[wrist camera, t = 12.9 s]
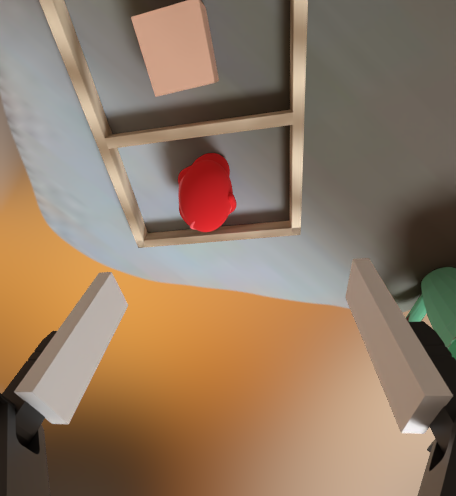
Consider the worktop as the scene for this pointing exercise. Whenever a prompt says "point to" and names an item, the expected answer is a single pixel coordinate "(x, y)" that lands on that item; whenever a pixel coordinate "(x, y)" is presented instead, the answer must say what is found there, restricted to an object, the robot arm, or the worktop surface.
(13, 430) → the robot arm
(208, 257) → the worktop surface
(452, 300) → the mug
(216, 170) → the red rounded oval lump
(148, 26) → the block
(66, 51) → the rack
